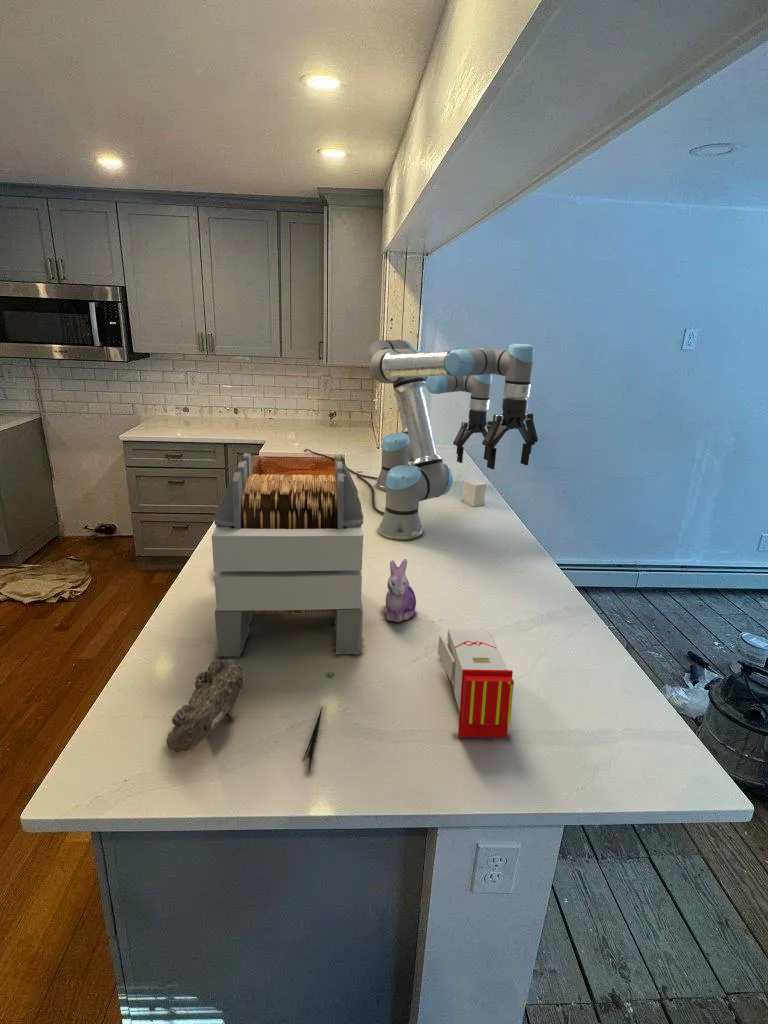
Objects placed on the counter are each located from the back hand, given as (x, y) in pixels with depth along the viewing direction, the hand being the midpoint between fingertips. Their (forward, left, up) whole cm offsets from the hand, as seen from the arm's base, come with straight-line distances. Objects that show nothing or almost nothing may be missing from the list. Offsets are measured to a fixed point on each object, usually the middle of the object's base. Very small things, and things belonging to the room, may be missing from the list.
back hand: (473, 460), depth 234 cm
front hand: (+27, -49, +13) cm, 57 cm away
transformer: (-5, -118, -17) cm, 119 cm away
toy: (+44, -122, -17) cm, 131 cm away
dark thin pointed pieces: (+22, -145, -17) cm, 148 cm away
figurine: (+17, -101, -17) cm, 104 cm away
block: (+3, -3, -17) cm, 17 cm away
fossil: (+4, -155, -17) cm, 156 cm away
